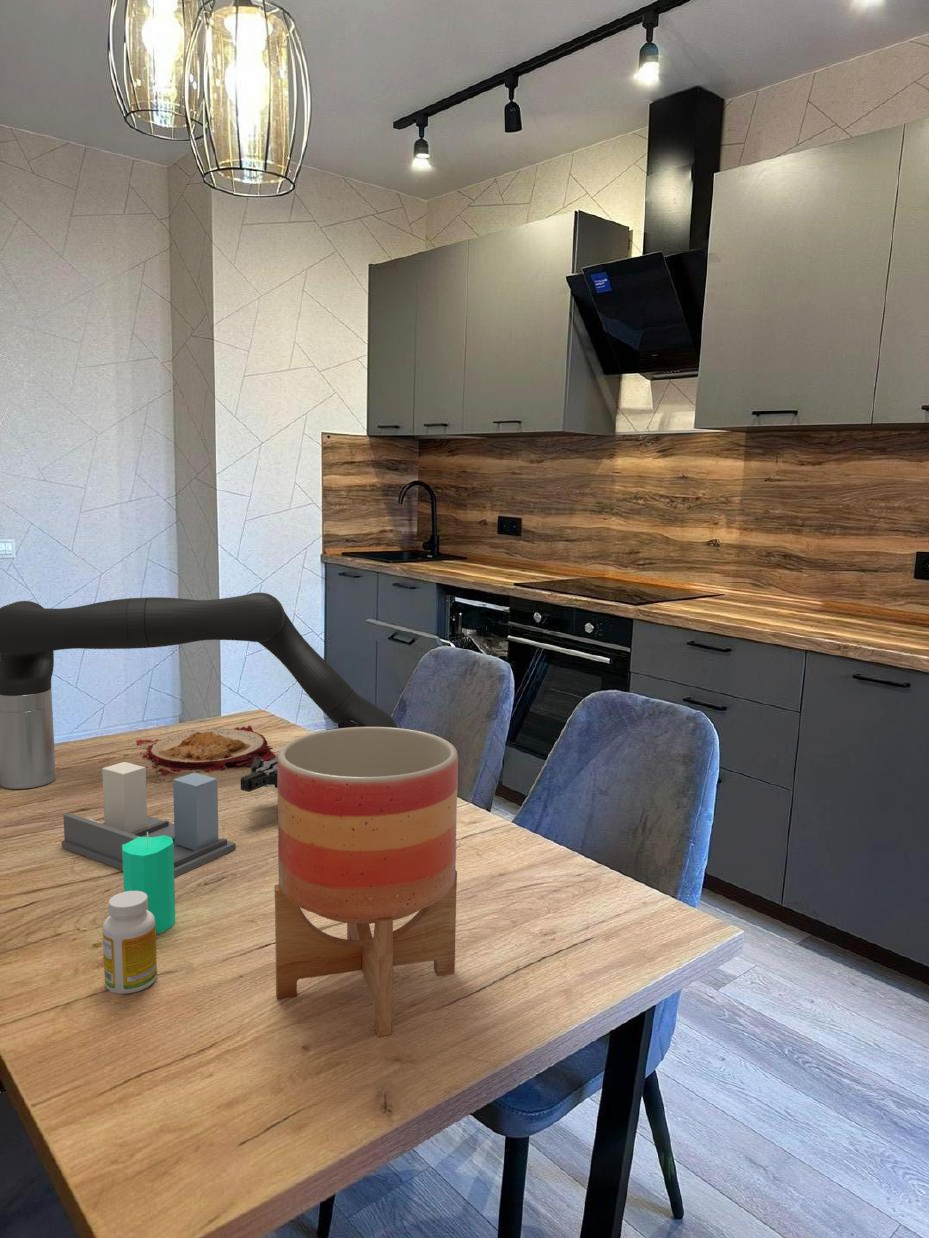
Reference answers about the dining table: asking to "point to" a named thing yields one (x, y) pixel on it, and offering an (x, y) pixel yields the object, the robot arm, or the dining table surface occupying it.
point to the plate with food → (208, 749)
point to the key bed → (108, 841)
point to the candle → (152, 876)
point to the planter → (366, 856)
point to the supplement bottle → (129, 943)
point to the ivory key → (125, 797)
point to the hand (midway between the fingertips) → (244, 785)
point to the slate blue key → (195, 811)
